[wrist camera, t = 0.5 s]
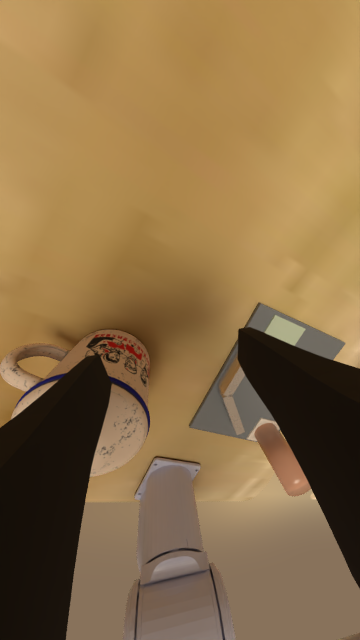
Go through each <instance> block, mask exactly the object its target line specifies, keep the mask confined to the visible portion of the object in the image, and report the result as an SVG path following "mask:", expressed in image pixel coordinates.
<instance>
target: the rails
mask: <svg viewBox="0 0 360 640" xmlns="http://www.w3.org/2000/svg"><path fill="white" fill-rule="evenodd" d="M237 358H238V350H237V351H236V353H235V355H234V357H233V358H232V360H231V362H230V363H229V365H228V367H227V369H226V370H225V372H224V374H223V376H222V377H221V379H220V381H219V383H218V390H219V393H220V395H221V398H222V400H223V403H224V406H225V408H226V411H227V413H228V416H229V419H230V421H231V424H232V426H233V428H234V430H235V432H236V434H237V435H239V434H241V433H244V432H245V431H244V428H243V425H242V422H241V419H240V416H239V413H238V411H237V408H236V405H235V402H234V399H233V396H232V395H233V394H234V392H235V391H236V389H237V387H238V386H239V384H240V382H241V381H242V379H243V378H244V376H245V374H244V372H243V370H242V368H241V366H240V364H239V362H238V360H237Z"/></svg>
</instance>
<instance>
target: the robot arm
mask: <svg viewBox="0 0 360 640" xmlns="http://www.w3.org/2000/svg"><path fill="white" fill-rule="evenodd" d="M237 360H238V362H239V364H240V366H241V368H242V370H243V372H244V374H245V376H246V377H247V379H248V381H249V382H250V384H251V385H252V387H253V388H254V390H255V391H256V393H257V394H258V396H259V397H260V399H261V400H262V402H263V403H264V405H265V406H266V408H267V409H268V411H269V412H270V414H271V415H272V417H273V418H274V420H275V421H276V423H277V425H278V426H279V428H280V430H281V432H282V434H283V435H284V437H285V439H286V441H287V443H288V444H289V446H290V448H291V450H292V452H293V454H294V456H295V458H296V460H297V461H298V463H299V465H300V467H301V469H302V471H303V473H304V475H305V477H306V479H307V481H308V483H309V485H310V487H311V489H312V491H313V493H314V495H315V497H316V499H317V501H318V503H319V505H320V507H321V509H322V511H323V513H324V515H325V517H326V519H327V522H328V524H329V526H330V528H331V530H332V532H333V534H334V537H335V539H336V541H337V543H338V545H339V547H340V549H341V551H342V554H343V556H344V558H345V560H346V563H347V565H348V567H349V569H350V572H351V574H352V576H353V577H354V579H355V581H356V583H357V584H358V586H359V588H360V369H359V368H355V367H352V366H349V365H346V364H343V363H340V362H337V361H333V360H330V359H328V358H325V357H322V356H319V355H317V354H314V353H311V352H309V351H306V350H303V349H301V348H298V347H296V346H294V345H291V344H289V343H287V342H284V341H282V340H280V339H277V338H275V337H273V336H271V335H268V334H266V333H264V332H261V331H259V330H257V329H254V328H251V327H247V328H241V329H239V331H238V358H237ZM111 386H112V383H111V381H110V378H109V376H108V374H107V371H106V369H105V366H104V364H103V362H102V359H101V357H100V355H99V354H97V355H92V356H87V357H85V358H84V359H83V360H81V361H80V362H79V363H78V364H77V365H75V366H74V367H73V368H72V369H71V370H70V371H69V372H68V373H66V374H65V375H64V376H63V377H62V378H61V379H60V380H58V381H57V382H56V383H55V384H54V385H53V386H52V387H50V388H49V389H48V390H47V391H46V392H45V393H43V394H42V395H41V396H40V397H39V398H37V399H36V400H35V401H34V402H33V403H31V404H30V405H29V406H28V407H26V408H25V409H24V410H23V411H22V412H20V413H19V414H18V415H17V416H15V417H14V418H13V419H11V420H10V421H9V422H8V423H6V424H5V425H4V426H2V427H1V428H0V640H66V631H67V624H68V616H69V607H70V599H71V591H72V583H73V574H74V568H75V562H76V555H77V547H78V541H79V534H80V528H81V522H82V516H83V510H84V505H85V499H86V493H87V488H88V483H89V478H90V472H91V467H92V463H93V459H94V455H95V451H96V448H97V444H98V441H99V437H100V434H101V430H102V427H103V423H104V420H105V416H106V413H107V409H108V405H109V400H110V394H111ZM200 468H201V467H200V464H196V463H190V462H183V461H177V460H171V459H164V458H155V459H154V460H153V462H152V464H151V466H150V467H149V469H148V471H147V473H146V475H145V477H144V479H143V480H142V482H141V484H140V486H139V488H138V490H137V492H136V494H135V497H134V498H135V499H136V500H140V509H139V524H138V539H137V562H138V567H139V571H140V579H138V580H135V581H134V583H133V586H132V588H131V589H130V591H129V594H128V599H127V605H126V613H125V623H124V633H123V640H236V639H235V633H234V627H233V621H232V616H231V611H230V606H229V602H228V597H227V593H226V589H225V586H224V582H223V578H222V576H221V573H220V571H219V570H218V569H217V568H216V566H215V564H214V563H209V562H208V557H207V552H206V551H205V552H204V550H203V544H202V538H201V532H200V526H199V520H198V514H197V509H196V502H195V496H194V490H193V483H192V481H193V479H194V478H195V476H196V475H197V473H198V471H199V470H200ZM338 640H360V633H358V634H354V635H351V636H348V637H345V638H341V639H338Z"/></svg>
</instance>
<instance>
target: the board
mask: <svg viewBox="0 0 360 640" xmlns="http://www.w3.org/2000/svg"><path fill="white" fill-rule="evenodd" d="M247 327H251V328H254V329H257V330H259V331H261V332H264V333H266V334H268V335H271V336H273V337H275V338H277V339H280V340H282V341H284V342H287V343H289V344H291V345H294V346H296V347H298V348H301V349H303V350H306V351H309V352H311V353H314V354H317V355H319V356H322V357H325V358H328V359H330V360H333V359H334V358H335V357H336V355H337V354H338V353H339V351H340V350H341V349H342V347H343V346H344V345H345V343H344V342H342V341H340V340H338V339H336V338H334V337H332V336H330V335H327V334H325V333H323V332H321V331H319V330H317V329H315V328H312V327H310V326H308V325H306V324H304V323H302V322H300V321H297V320H295V319H293V318H291V317H289V316H287V315H285V314H282V313H280V312H278V311H276V310H274V309H272V308H270V307H268V306H265V305H263V304H261V303H258V305H257V307H256V308H255V310H254V312H253V314H252V315H251V317H250V319H249V321H248V323H247V324H246V326H245V328H247ZM237 350H238V340H237V342H236V344H235V345H234V347H233V349H232V351H231V352H230V354H229V356H228V358H227V359H226V361H225V363H224V365H223V367H222V368H221V370H220V372H219V374H218V375H217V377H216V379H215V381H214V382H213V384H212V386H211V388H210V389H209V391H208V393H207V395H206V396H205V398H204V400H203V402H202V404H201V405H200V407H199V409H198V411H197V412H196V414H195V416H194V418H193V419H192V421H191V423H190V425H189V426H190V428H194V429H199V430H203V431H208V432H213V433H217V434H222V435H227V436H231V437H236V438H241V439H245V440H250V441H255V442H258V441H257V440H256V438H255V435H254V433H255V431H256V429H257V428H258V427H259V426H261V425H262V424H265V423H272V424H274V425H275V426H276V428H277V429H278V430H279V431H280V428H279V426H278V425H277V423H276V421H275V420H274V418H273V417H272V415H271V414H270V412H269V411H268V409H267V408H266V406H265V405H264V403H263V402H262V400H261V399H260V397H259V396H258V394H257V393H256V391H255V390H254V388H253V387H252V385H251V384H250V382H249V381H248V379H247V377H246V376H244V378H243V379H242V381H241V382H240V384H239V386H238V387H237V389H236V391H235V392H234V394H233V395H232V396H233V399H234V402H235V405H236V408H237V411H238V413H239V416H240V419H241V422H242V425H243V428H244V431H245V432H244V433H241V434H239V435H237V434H236V432H235V430H234V428H233V426H232V424H231V421H230V419H229V416H228V413H227V411H226V408H225V406H224V403H223V400H222V398H221V395H220V393H219V390H218V383H219V381H220V379H221V377H222V376H223V374H224V372H225V370H226V369H227V367H228V365H229V363H230V362H231V360H232V358H233V357H234V355H235V353H236V351H237Z"/></svg>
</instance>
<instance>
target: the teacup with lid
mask: <svg viewBox="0 0 360 640" xmlns="http://www.w3.org/2000/svg"><path fill="white" fill-rule="evenodd" d="M97 354H99V355H100V357H101V359H102V362H103V364H104V366H105V369H106V371H107V374H108V376H109V378H110V381H111V383H112V386H111V394H110V400H109V405H108V409H107V413H106V416H105V420H104V423H103V427H102V430H101V434H100V437H99V441H98V444H97V448H96V451H95V455H94V459H93V463H92V467H91V472H90V477H93V476H98V475H102V474H105V473H108V472H111V471H113V470H116V469H118V468H120V467H121V466H123V465H124V464H126V463H127V462H129V461H130V460H131V459H132V458H133V457H134V456H135V455H136V454H137V453H138V451H139V450H140V449H141V447H142V445H143V444H144V442H145V439H146V437H147V435H148V432H149V427H150V416H149V411H148V390H149V371H150V359H149V355H148V352H147V350H146V348H145V346H144V345H143V344H142V343H141V342H140V341H139V340H138V339H137V338H136V337H134V336H133V335H131V334H129V333H126V332H123V331H119V330H111V329H108V330H100V331H96V332H93V333H91V334H89V335H87V336H86V337H84V338H83V339H82V340H81V341H80V342H79V343H78V344H77V345H76V346H75V347H74V348H73V349H72V350H71V351H68V350H66V349H64V348H62V347H59V346H56V345H52V344H45V343H36V344H29V345H24V346H21V347H18V348H16V349H14V350H12V351H11V352H10V353H8V354H7V355H6V356H5V358H4V359H3V361H2V363H1V365H0V373H1V375H2V377H3V379H4V380H5V381H6V382H7V383H9V384H10V385H12V386H14V387H16V388H18V389H21V390H23V391H26V393H25V394H24V395H23V396H22V397H21V399H20V400H19V401H18V403H17V405H16V407H15V410H14V412H13V414H12V417H11V419H13V418H14V417H15V416H17V415H18V414H19V413H20V412H22V411H23V410H24V409H25V408H26V407H28V406H29V405H30V404H31V403H33V402H34V401H35V400H36V399H37V398H39V397H40V396H41V395H42V394H43V393H45V392H46V391H47V390H48V389H49V388H50V387H52V386H53V385H54V384H55V383H56V382H57V381H58V380H60V379H61V378H62V377H63V376H64V375H65V374H66V373H68V372H69V371H70V370H71V369H72V368H73V367H74V366H75V365H77V364H78V363H79V362H80V361H81V360H83V359H84V358H85V357H87V356H92V355H97ZM33 356H46V357H50V358H53V359H56V360H58V361H61V362H60V363H59V364H58V365H57V366H56V367H55V368H54V369H53V370H52V371H51V372H50V373H49V374H48V375H47V376H46V378H44V379H43V378H40V377H38V376H35V375H33V374H30V373H28V372H26V371H24V370H23V369H21V368H20V367H19V365H18V364H17V362H18V361H20V360H22V359H25V358H28V357H33Z"/></svg>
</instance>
